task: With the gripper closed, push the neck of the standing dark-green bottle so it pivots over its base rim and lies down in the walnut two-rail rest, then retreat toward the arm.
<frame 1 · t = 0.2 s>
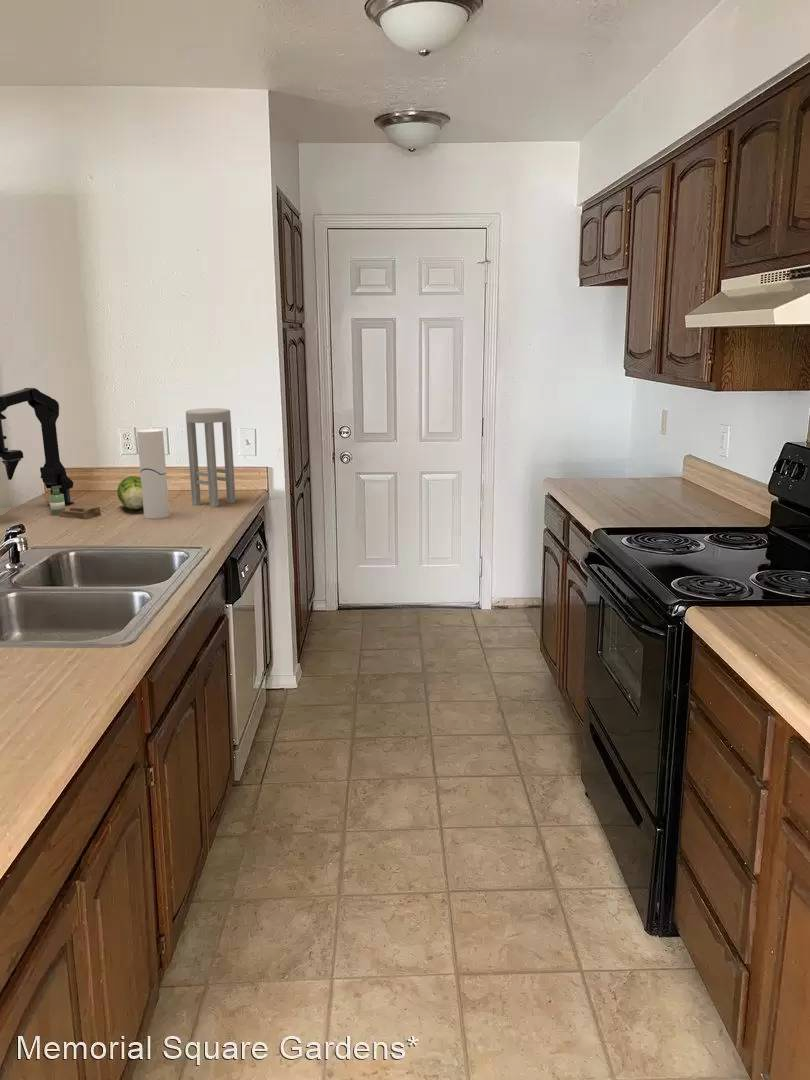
hand: (0, 478, 289), 14 cm above the worktop, fingers open, 9 cm apart
container: (156, 516, 294), on the worktop
lettuce: (135, 510, 306), on the worktop
bottle: (58, 514, 299), on the worktop
stool: (214, 503, 316), on the worktop
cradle: (78, 515, 296), on the worktop
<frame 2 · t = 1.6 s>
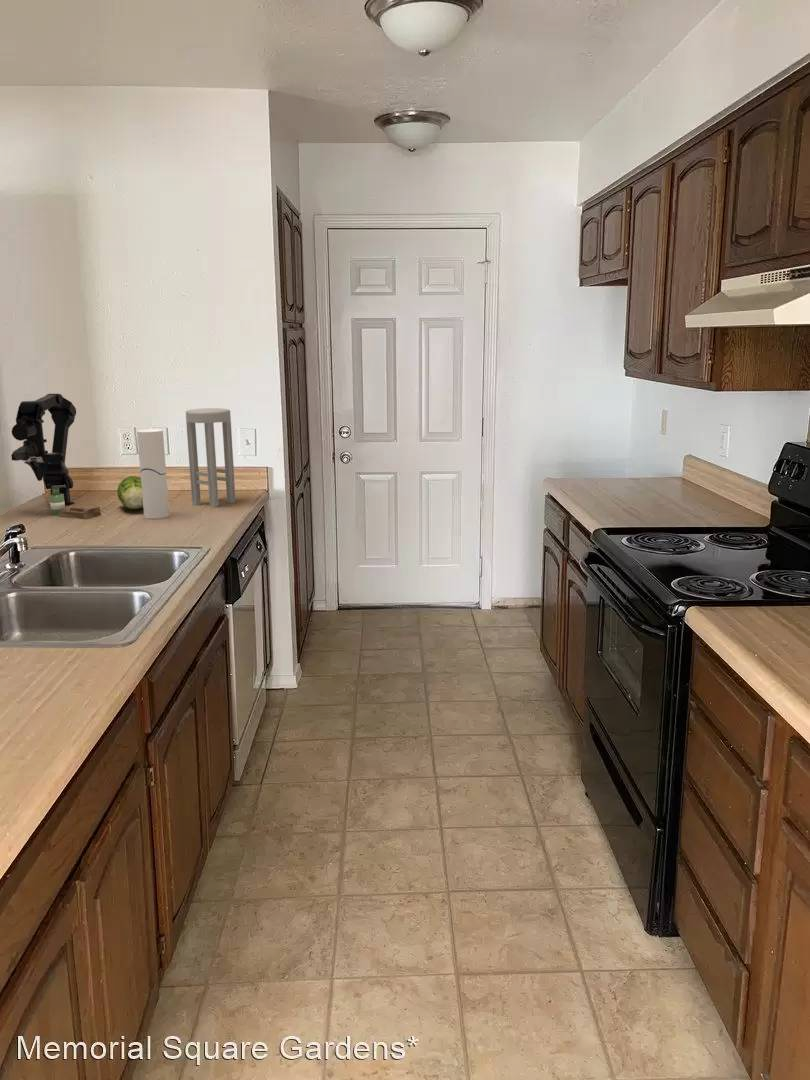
hand: (39, 480, 299), 12 cm above the worktop, fingers closed
nothing on the worktop moved.
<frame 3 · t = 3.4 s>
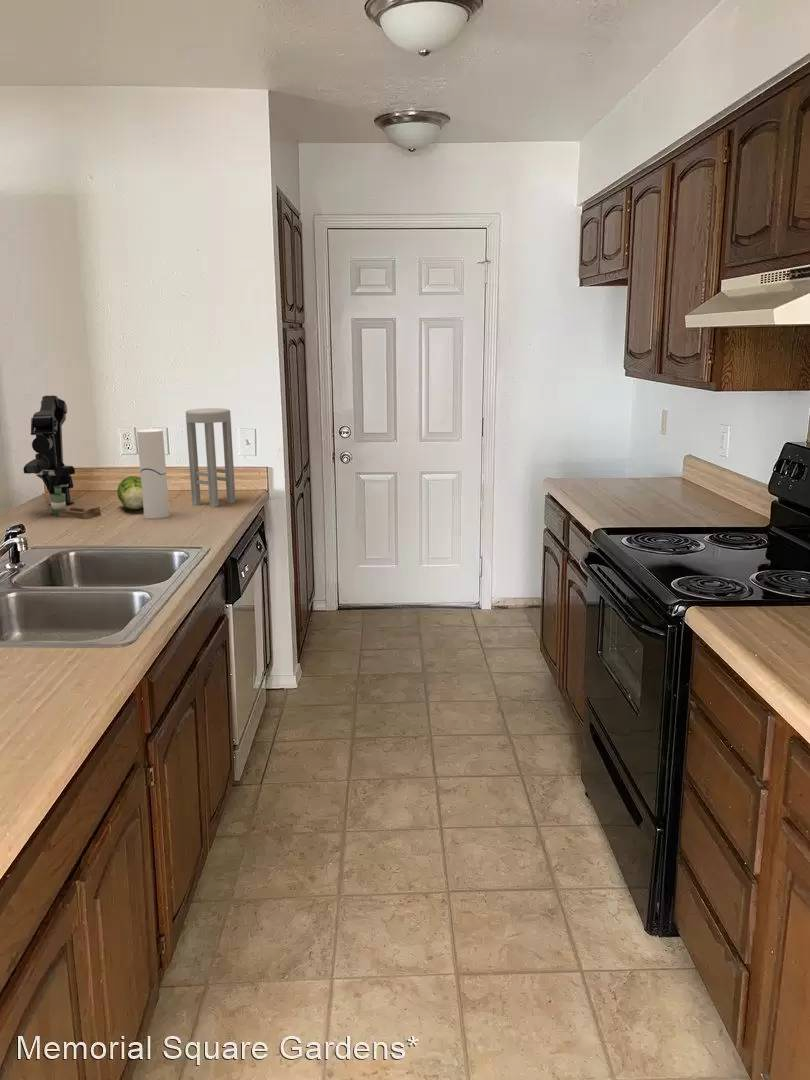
hand: (51, 493, 298), 7 cm above the worktop, fingers closed
bottle: (58, 513, 299), on the worktop, tilted 7°, touching gripper
everything else where it was.
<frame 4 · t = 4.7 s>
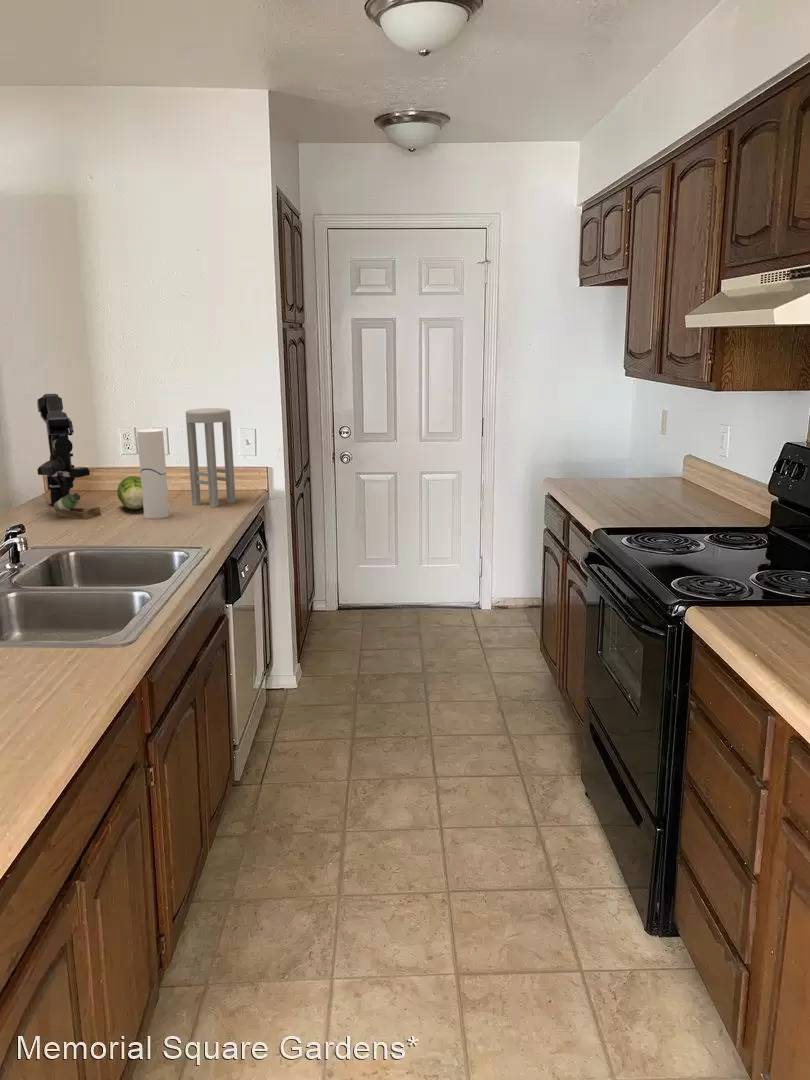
hand: (65, 495, 296), 7 cm above the worktop, fingers closed
bottle: (60, 507, 299), point 2 cm above the worktop, tilted 62°, touching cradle
everything else where it was.
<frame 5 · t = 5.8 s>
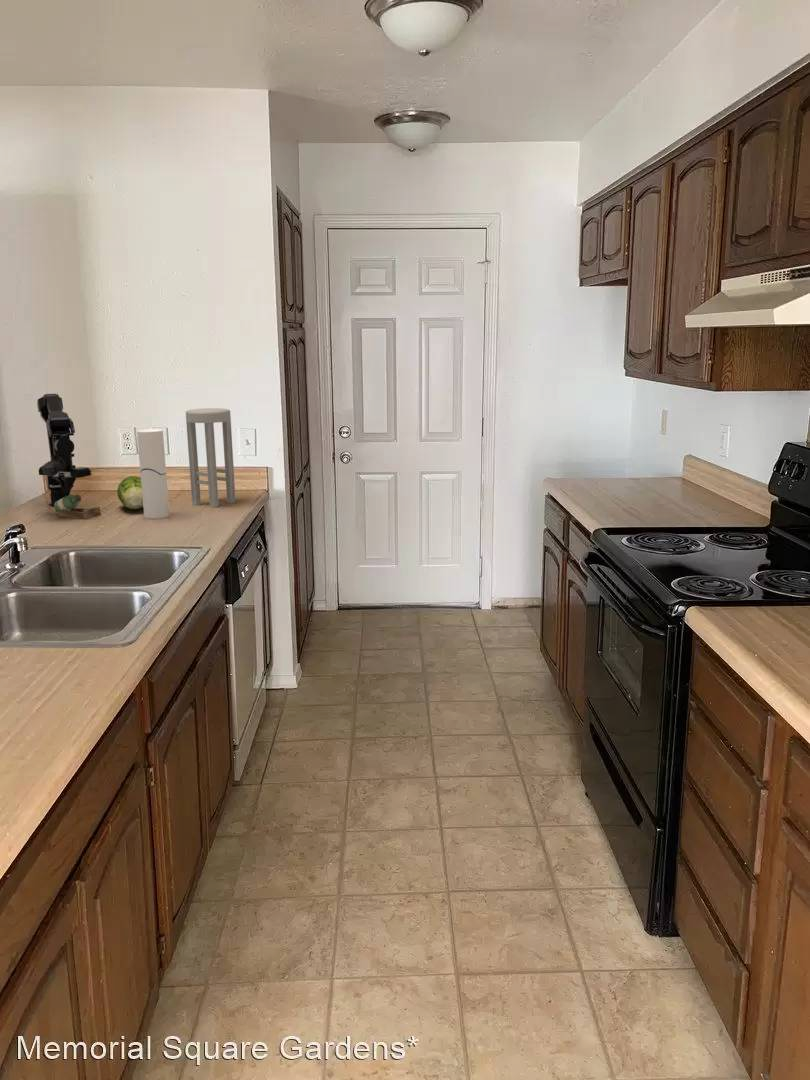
hand: (67, 495, 296), 7 cm above the worktop, fingers closed
bottle: (60, 507, 299), point 3 cm above the worktop, tilted 66°, touching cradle, gripper
everything else where it was.
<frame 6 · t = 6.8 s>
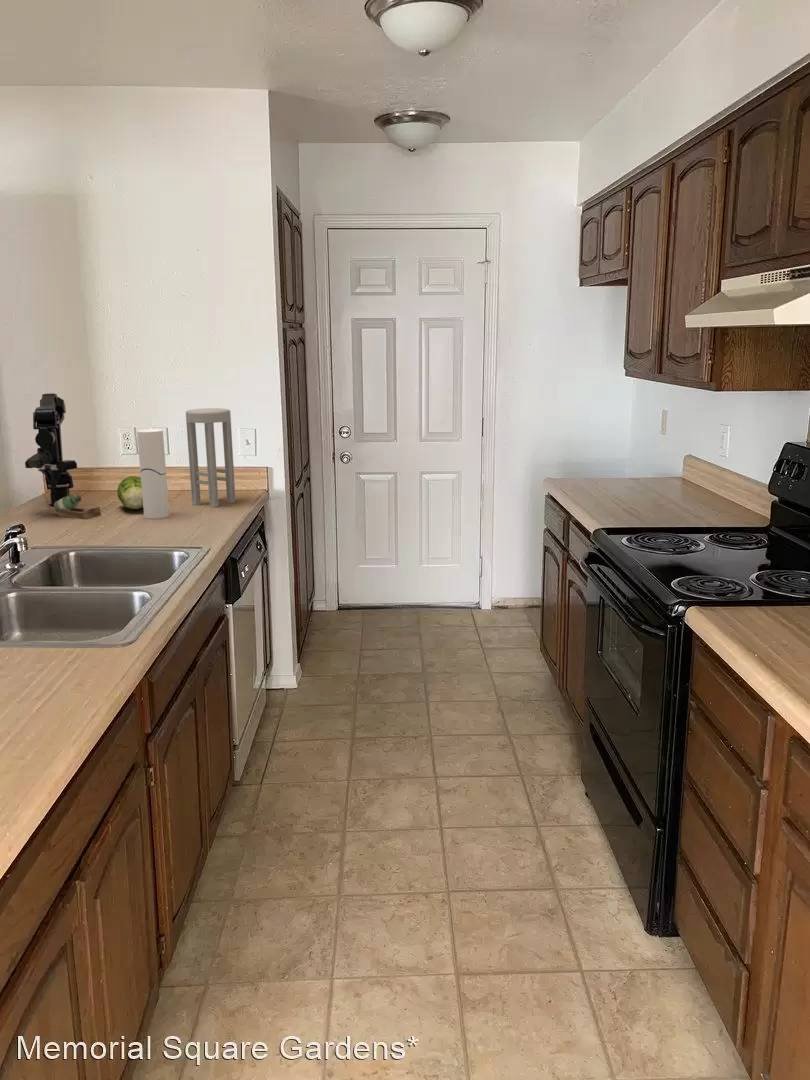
hand: (53, 488, 297), 9 cm above the worktop, fingers closed
bottle: (60, 507, 299), point 3 cm above the worktop, tilted 66°, touching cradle
everything else where it was.
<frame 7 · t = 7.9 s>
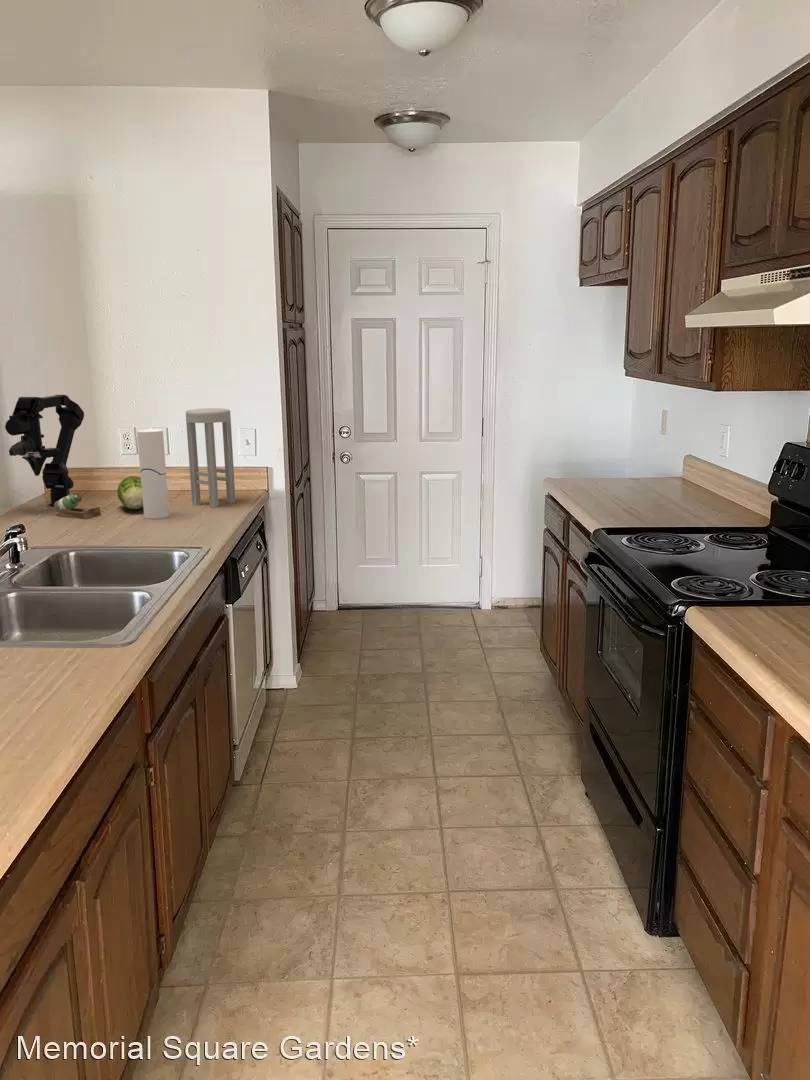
hand: (37, 475, 302), 13 cm above the worktop, fingers closed
nothing on the worktop moved.
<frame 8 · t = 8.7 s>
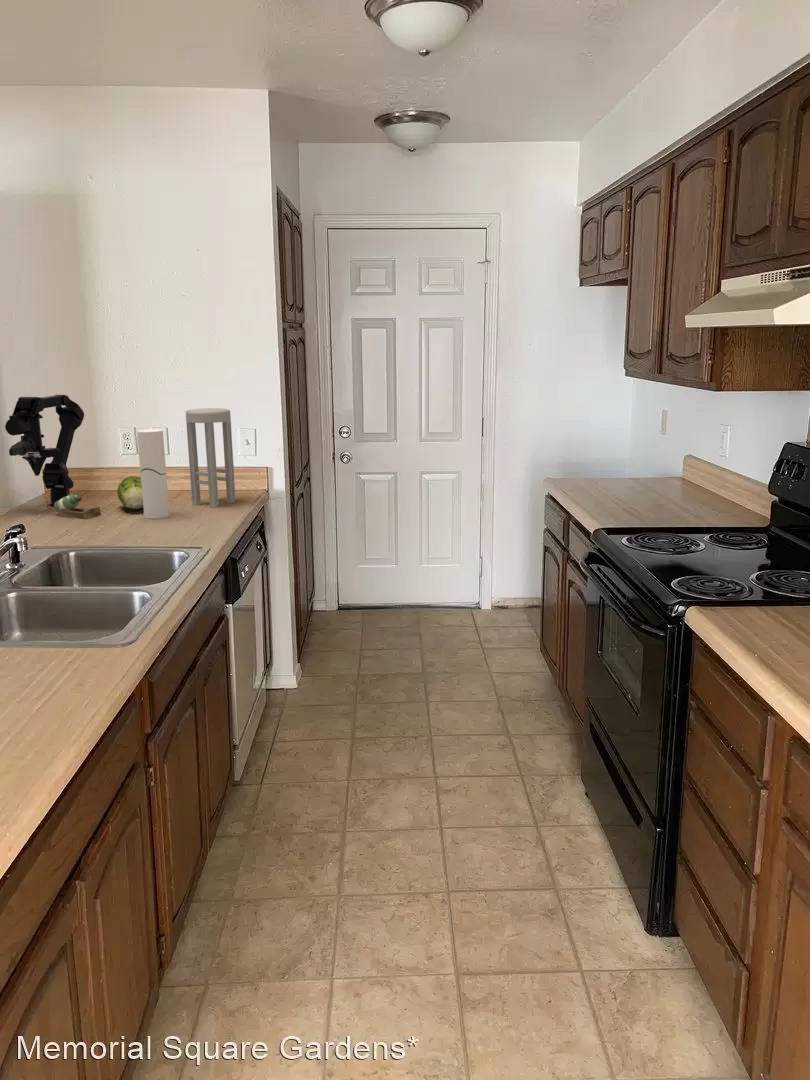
hand: (37, 475, 302), 13 cm above the worktop, fingers closed
nothing on the worktop moved.
at the end: bottle tilted 66°; bottle inside the target area (3.0 cm from its centre), point 2.5 cm above the worktop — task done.
